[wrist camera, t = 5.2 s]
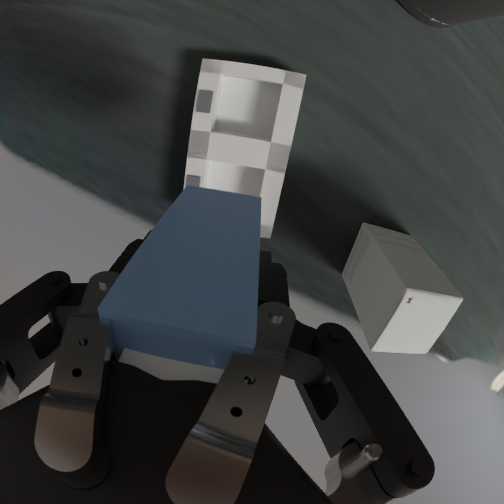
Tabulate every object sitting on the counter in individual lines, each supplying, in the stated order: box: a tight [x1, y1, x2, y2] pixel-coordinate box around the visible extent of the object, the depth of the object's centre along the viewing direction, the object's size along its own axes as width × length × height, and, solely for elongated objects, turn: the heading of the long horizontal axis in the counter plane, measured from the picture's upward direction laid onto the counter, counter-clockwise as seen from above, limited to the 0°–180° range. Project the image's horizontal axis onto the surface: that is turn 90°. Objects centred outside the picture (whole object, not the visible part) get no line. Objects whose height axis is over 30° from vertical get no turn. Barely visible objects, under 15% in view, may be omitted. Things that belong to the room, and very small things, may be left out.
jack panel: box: [184, 59, 306, 239], centre depth 26 cm, size 16×9×3 cm, turn 170°
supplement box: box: [342, 222, 463, 354], centre depth 27 cm, size 7×7×13 cm
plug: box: [97, 185, 262, 384], centre depth 11 cm, size 4×4×11 cm
